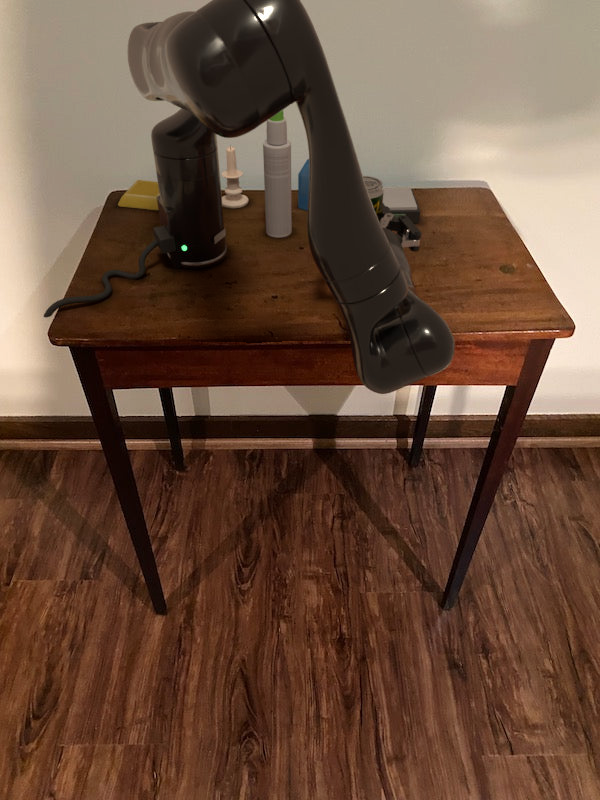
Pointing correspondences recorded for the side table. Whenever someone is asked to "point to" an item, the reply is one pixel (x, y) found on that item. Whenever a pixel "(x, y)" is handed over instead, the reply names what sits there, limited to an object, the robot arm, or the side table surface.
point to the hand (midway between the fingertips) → (359, 210)
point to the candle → (233, 183)
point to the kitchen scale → (402, 203)
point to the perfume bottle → (303, 186)
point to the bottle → (277, 178)
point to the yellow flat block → (141, 195)
